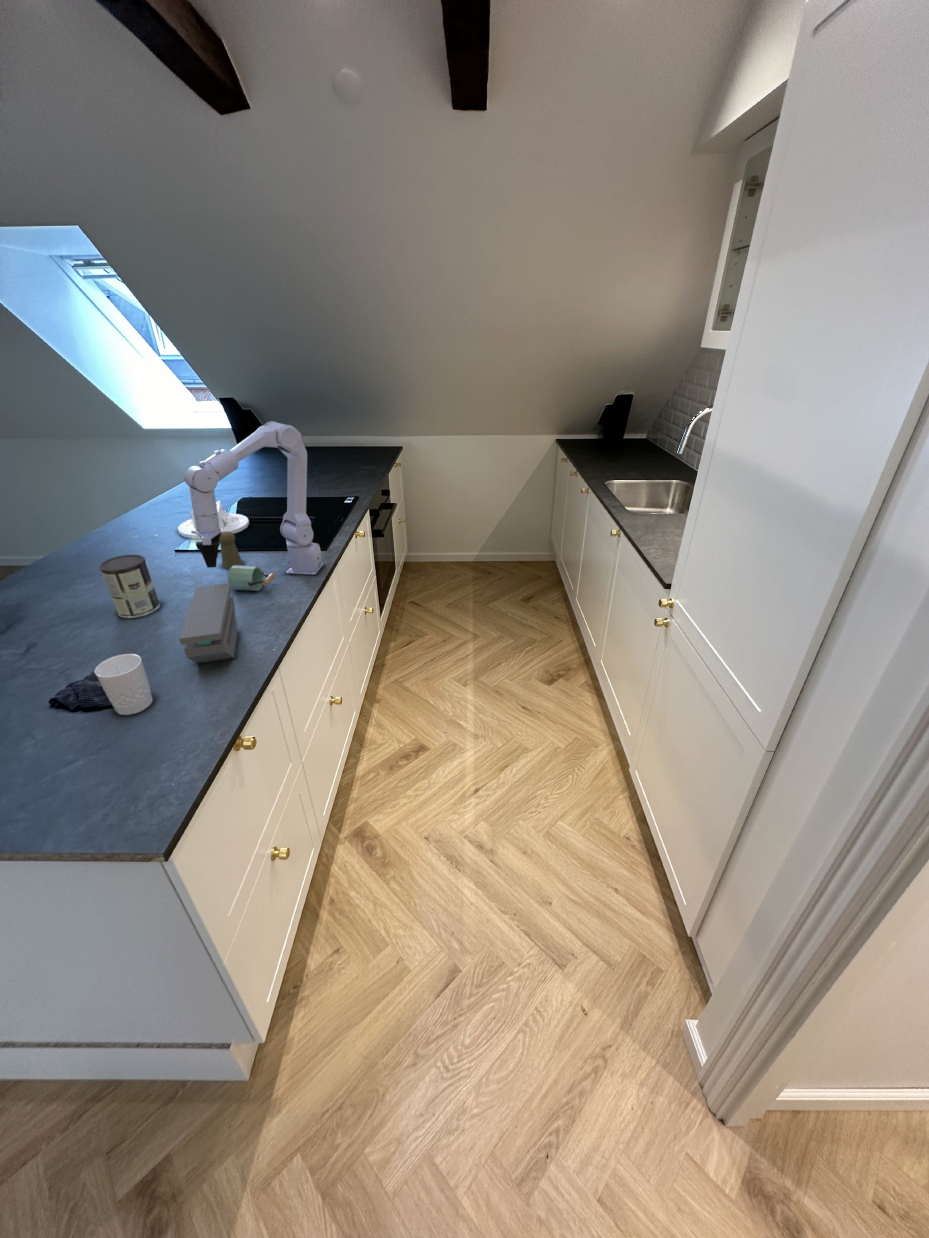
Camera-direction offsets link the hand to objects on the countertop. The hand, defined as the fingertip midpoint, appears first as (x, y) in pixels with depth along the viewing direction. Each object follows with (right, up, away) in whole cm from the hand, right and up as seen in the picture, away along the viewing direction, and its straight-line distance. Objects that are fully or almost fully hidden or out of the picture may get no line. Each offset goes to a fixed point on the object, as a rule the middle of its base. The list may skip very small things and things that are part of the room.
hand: (212, 562), depth 141 cm
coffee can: (-19, -13, -1) cm, 24 cm away
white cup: (+2, -34, -36) cm, 49 cm away
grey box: (+10, -23, -17) cm, 30 cm away
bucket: (+2, -4, +8) cm, 9 cm away
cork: (-6, +2, +25) cm, 25 cm away
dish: (-26, +20, +55) cm, 64 cm away
